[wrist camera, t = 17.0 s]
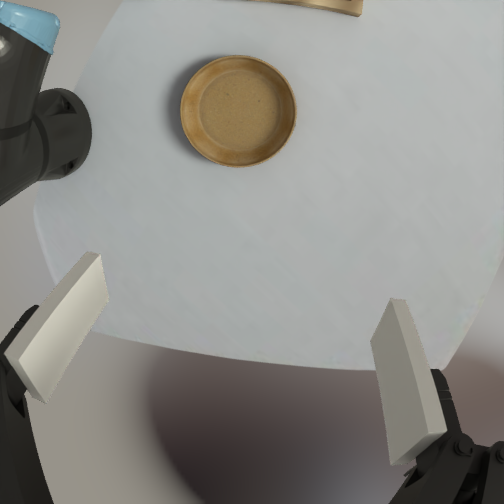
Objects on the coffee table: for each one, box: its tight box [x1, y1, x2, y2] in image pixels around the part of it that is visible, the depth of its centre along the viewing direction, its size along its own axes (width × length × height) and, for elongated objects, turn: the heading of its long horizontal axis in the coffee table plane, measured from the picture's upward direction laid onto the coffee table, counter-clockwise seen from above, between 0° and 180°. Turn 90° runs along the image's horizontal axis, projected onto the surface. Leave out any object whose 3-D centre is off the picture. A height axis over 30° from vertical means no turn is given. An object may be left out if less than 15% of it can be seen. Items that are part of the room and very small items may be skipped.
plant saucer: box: [180, 55, 297, 168], centre depth 38 cm, size 15×15×3 cm
